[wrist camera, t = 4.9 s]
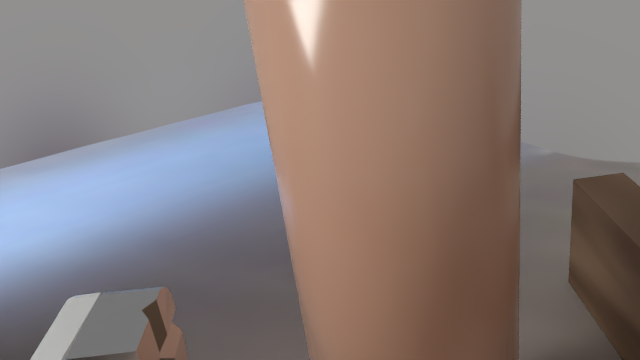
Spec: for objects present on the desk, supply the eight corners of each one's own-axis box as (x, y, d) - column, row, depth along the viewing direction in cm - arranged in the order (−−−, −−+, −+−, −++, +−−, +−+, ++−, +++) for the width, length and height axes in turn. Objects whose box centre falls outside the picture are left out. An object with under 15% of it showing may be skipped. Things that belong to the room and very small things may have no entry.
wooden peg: (339, 585, 16) (183, -201, 8) (331, 422, 21) (229, -161, 13) (546, 563, 16) (579, -265, 8) (488, 404, 21) (475, -200, 13)
